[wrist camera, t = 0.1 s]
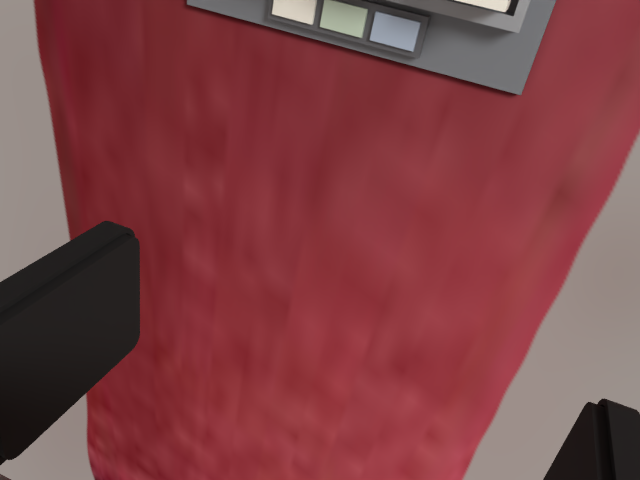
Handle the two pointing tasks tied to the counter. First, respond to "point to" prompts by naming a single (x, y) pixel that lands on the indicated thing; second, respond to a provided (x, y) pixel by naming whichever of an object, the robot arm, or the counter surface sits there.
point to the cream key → (490, 4)
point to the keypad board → (414, 32)
